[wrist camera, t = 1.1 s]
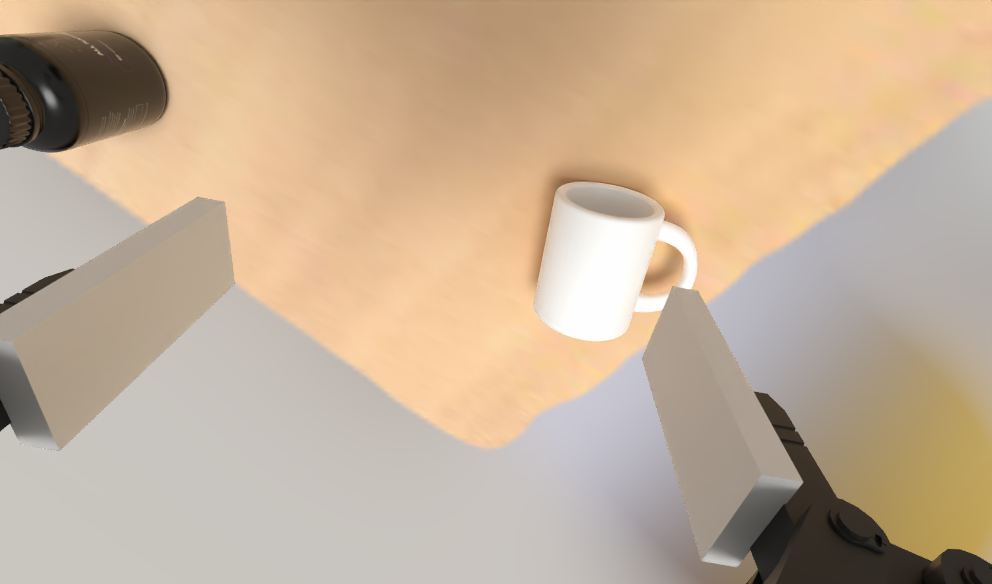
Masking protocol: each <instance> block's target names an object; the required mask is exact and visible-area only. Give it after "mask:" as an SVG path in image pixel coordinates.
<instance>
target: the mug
mask: <svg viewBox="0 0 992 584" xmlns="http://www.w3.org/2000/svg"><path fill="white" fill-rule="evenodd" d="M664 217H665V212H664V209H663V208H662V206H661V205H660V204H659V203H658V202H656V201H655V200H653V199H652V198H650V197H648V196H646V195H644V194H641V193H639V192H636V191H634V190H631V189H627V188H624V187H620V186H616V185H611V184H606V183H598V182H572V183H567V184H564V185H562V186H560V187H559V188H558V189H557V190H556V192H555V197H554V202H553V207H552V212H551V217H550V222H549V227H548V232H547V237H546V242H545V247H544V252H543V257H542V262H541V267H540V272H539V277H538V282H537V287H536V293H535V298H534V310H535V312H536V314H537V316H538V317H539V318H540V319H541V320H542V321H543V322H544V323H545V324H546V325H547V326H549V327H550V328H552V329H554V330H555V331H557V332H559V333H562V334H564V335H566V336H569V337H573V338H576V339H581V340H588V341H605V340H611V339H614V338H617V337H619V336H621V335H622V334H624V333H625V332H626V330H627V329H628V327H629V324H630V321H631V318H632V315H633V312H653V311H660V310H663V307H664V305H665V303H666V300H667V298H668V296H669V293H670V291H671V290H670V291H668V292H665V293H660V294H640V291H641V288H642V285H643V281H644V278H645V275H646V272H647V269H648V266H649V263H650V260H651V257H652V254H653V251H654V248H655V245H656V242H657V240H660V241H663V242H666V243H668V244H670V245H672V246H674V247H675V248H677V249H678V250H679V251H680V252H681V253H682V255H683V258H684V266H683V271H682V274H681V277H680V279H679V281H678V283H677V284H676V286H675V287H680V288H685V289H691V288H692V286H693V284H694V282H695V279H696V275H697V268H698V258H697V252H696V248H695V245H694V242H693V240H692V239H691V237H690V236H689V235H688V233H687V232H686V231H684V230H683V229H682V228H680V227H679V226H677V225H675V224H673V223H670V222H667V221H664Z"/></svg>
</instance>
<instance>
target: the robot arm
mask: <svg viewBox="0 0 992 584" xmlns="http://www.w3.org/2000/svg"><path fill="white" fill-rule="evenodd" d="M234 284H235V281H234V272H233V264H232V256H231V248H230V240H229V232H228V224H227V216H226V208H225V202H223V201H217V200H212V199H207V198H201V197H197V198H195V199H193V200H192V201H190V202H188V203H187V204H185V205H183V206H182V207H180V208H178V209H177V210H175V211H173V212H171V213H170V214H168V215H166V216H165V217H163V218H161V219H160V220H158V221H156V222H155V223H153V224H151V225H149V226H148V227H146V228H144V229H143V230H141V231H139V232H138V233H136V234H134V235H133V236H131V237H129V238H128V239H126V240H124V241H122V242H121V243H119V244H117V245H116V246H114V247H112V248H111V249H109V250H107V251H106V252H104V253H102V254H101V255H99V256H97V257H95V258H94V259H92V260H90V261H89V262H87V263H85V264H84V265H82V266H80V267H79V268H77V269H69V270H67V271H63V272H61V273H57V274H54V275H52V276H48V277H45V278H43V279H41V280H39V281H38V282H36V283H34V284H32V285H31V286H29V287H27V288H25V289H24V290H22V293H17V294H15V295H13V296H11V297H10V298H8V299H6V300H5V301H4V303H3V304H0V431H1V430H2V429H4V427H6V426H7V425H9V424H11V426H12V428H13V430H14V433H15V434H16V437H17V439H18V441H19V443H20V445H26V446H32V447H38V448H44V449H50V450H56V451H60V450H61V449H62V448H63V447H64V446H65V445H66V444H67V443H68V442H70V441H71V440H72V439H73V438H74V437H75V436H76V435H77V434H78V433H79V432H80V431H81V430H82V429H83V428H84V427H85V426H86V425H87V424H88V423H89V422H90V421H92V420H93V419H94V418H95V417H96V415H98V414H99V413H100V412H101V411H102V410H103V409H104V408H105V407H106V406H107V405H108V404H109V403H110V402H112V401H113V400H114V399H115V398H116V397H117V396H118V395H119V394H120V393H121V392H122V391H123V390H124V389H125V388H126V387H127V386H128V385H129V384H130V383H131V382H132V381H133V380H134V379H136V378H137V377H138V376H139V375H140V374H141V373H142V372H143V371H144V370H145V369H146V368H147V367H148V366H149V365H150V364H151V363H152V362H153V361H155V360H156V359H157V357H159V356H160V355H161V354H162V353H163V352H164V351H165V350H166V349H167V348H168V347H169V346H170V345H171V344H172V343H173V342H174V341H175V340H176V339H178V337H180V336H181V335H182V334H183V333H184V332H185V331H186V330H187V329H188V328H189V327H190V326H191V325H192V324H193V323H194V322H195V321H196V320H197V319H199V317H201V316H202V315H203V314H204V313H205V312H206V311H207V310H208V309H209V308H210V307H211V306H212V305H213V304H214V303H215V302H216V301H217V300H218V299H220V298H221V297H222V296H223V295H224V294H225V293H226V292H227V291H228V290H229V289H230V288H231V287H232V286H233V285H234ZM642 360H643V364H644V367H645V371H646V374H647V377H648V381H649V384H650V387H651V391H652V394H653V398H654V401H655V404H656V408H657V411H658V415H659V418H660V422H661V425H662V428H663V432H664V435H665V439H666V442H667V446H668V449H669V452H670V456H671V459H672V463H673V466H674V469H675V473H676V476H677V479H678V483H679V486H680V490H681V493H682V497H683V500H684V503H685V507H686V510H687V514H688V517H689V520H690V524H691V527H692V530H693V534H694V537H695V541H696V544H697V548H698V551H699V555H700V558H701V561H704V562H710V563H716V564H722V565H728V566H734V567H738V566H739V564H740V563H741V562H742V560H743V559H744V558H745V557H746V555H747V554H748V553H749V551H750V550H751V552H752V555H753V557H754V560H755V562H756V565H757V568H758V570H757V571H756V572H755V574H754V575H753V576H752V577H751V578H750V580H749V581H748V582H747V583H746V584H992V564H990V563H988V562H986V561H985V560H983V559H981V558H980V557H978V556H976V555H974V554H971V553H968V552H966V551H963V550H960V549H959V550H958V549H947V550H946V551H945V552H943V553H942V554H940V555H939V556H938V557H937V558H936V559H935V560H934V561H930V560H928V559H925V558H923V557H921V556H918V555H916V554H914V553H912V552H909V551H907V550H905V549H902V548H900V547H898V546H895V545H893V544H891V543H890V542H889V540H888V538H887V536H886V534H885V533H884V531H883V530H882V529H881V528H880V527H879V526H878V525H877V523H876V522H875V521H874V520H873V519H872V518H871V517H870V516H868V515H867V514H866V513H864V512H863V511H862V510H860V509H859V508H858V507H856V506H854V505H852V504H850V503H848V502H846V501H844V500H842V499H838V498H837V497H836V495H835V493H834V492H833V490H832V488H831V487H830V485H829V483H828V482H827V480H826V479H825V477H824V475H823V473H822V472H821V470H820V468H819V467H818V465H817V463H816V462H815V460H814V458H813V457H812V455H811V453H810V452H809V450H808V448H807V447H805V446H804V442H803V440H802V438H801V437H800V435H799V433H798V432H795V427H794V425H793V424H792V422H791V420H790V419H789V417H788V415H787V414H786V412H785V410H783V409H782V408H781V407H780V406H779V405H778V404H777V403H776V402H775V401H774V400H773V399H772V398H771V397H770V396H769V395H768V394H765V393H759V392H754V391H753V390H752V388H751V386H750V384H749V383H748V381H747V379H746V377H745V375H744V374H743V372H742V370H741V368H740V366H739V365H738V363H737V361H736V359H735V357H734V355H733V354H732V352H731V350H730V348H729V346H728V345H727V343H726V341H725V339H724V337H723V335H722V334H721V332H720V330H719V328H718V326H717V325H716V323H715V321H714V319H713V317H712V316H711V314H710V312H709V310H708V308H707V306H706V305H705V303H704V301H703V299H702V297H701V296H700V294H699V292H698V291H696V290H691V289H685V288H680V287H675V286H672V289H671V291H670V293H669V296H668V298H667V300H666V303H665V305H664V307H663V310H662V312H661V315H660V317H659V319H658V322H657V324H656V326H655V329H654V331H653V333H652V336H651V338H650V340H649V343H648V345H647V348H646V350H645V352H644V355H643V357H642Z"/></svg>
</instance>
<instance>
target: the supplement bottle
mask: <svg viewBox="0 0 992 584" xmlns="http://www.w3.org/2000/svg"><path fill="white" fill-rule="evenodd" d="M165 103H166V90H165V85H164V81H163V79H162V76H161V74H160V72H159V70H158V68H157V66H156V65H155V63H154V62H153V60H152V59H151V58H150V56H149V55H148V54H147V53H146V52H145V51H144V50H143V49H142V48H141V47H140V46H138V45H137V44H136V43H134V42H133V41H131V40H130V39H128V38H126V37H124V36H122V35H119V34H117V33H113V32H109V31H75V32H52V33H30V34H8V35H0V149H4V148H8V147H19V146H23V147H25V148H28V149H32V150H36V151H41V152H61V151H66V150H70V149H73V148H76V147H80V146H83V145H87V144H90V143H93V142H97V141H100V140H104V139H107V138H110V137H114V136H117V135H120V134H124V133H127V132H131V131H134V130H137V129H140V128H144V127H146V126H149V125H151V124H152V123H154V122H155V121H156V120H157V119H158V118H159V117H160V116H161V114H162V112H163V110H164V107H165Z"/></svg>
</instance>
